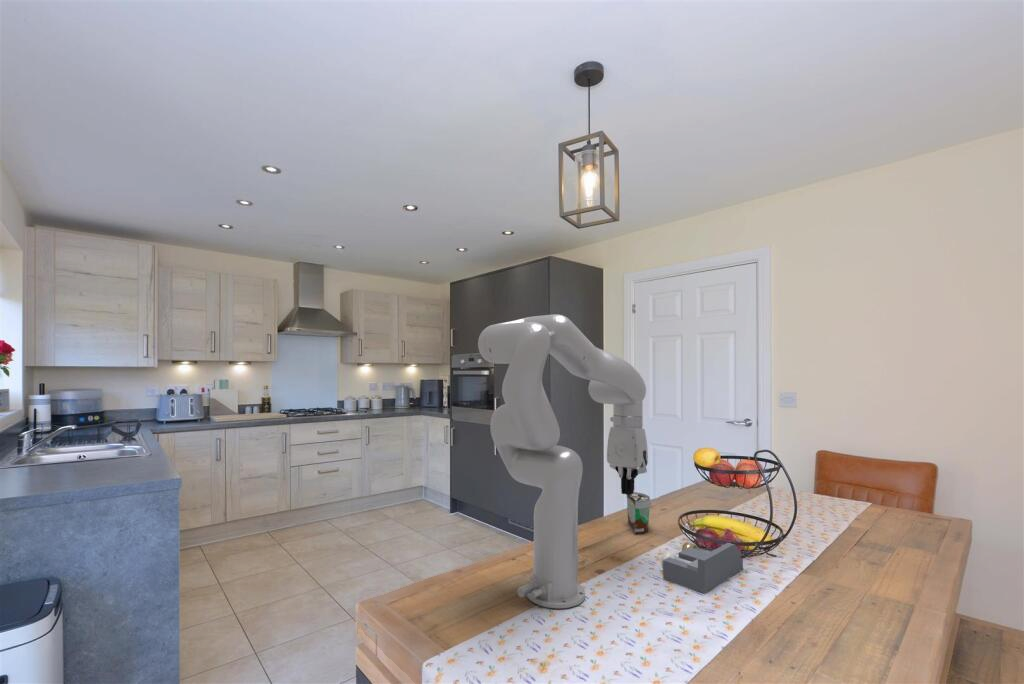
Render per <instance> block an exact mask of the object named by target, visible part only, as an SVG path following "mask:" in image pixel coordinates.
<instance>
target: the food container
mask: <svg viewBox="0 0 1024 684" xmlns="http://www.w3.org/2000/svg"><path fill="white" fill-rule="evenodd" d="M626 503H627V505H626V506H627V507H626V508H627V511H626V512H627V525H628V527H629V528H630V530H631V531H632V533H633V534H634V535H635V536H636V535H643V534H644V535H645V534H647V533H648V532H649V520H650V518H649V517H650V507H652V506H653V503H652V499H651V498H650V496H649V495H648V494H645V493H642V492H635V491H634V493H633V494H629V495H626Z"/></svg>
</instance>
